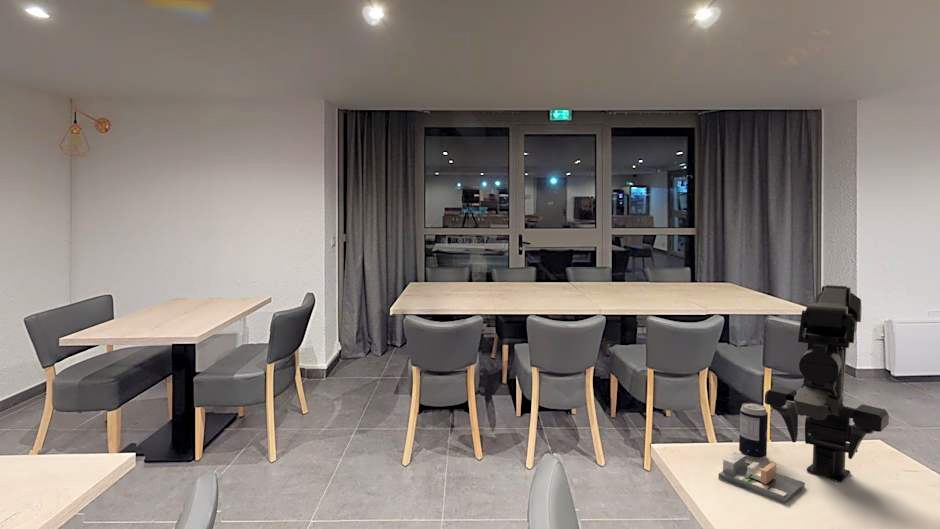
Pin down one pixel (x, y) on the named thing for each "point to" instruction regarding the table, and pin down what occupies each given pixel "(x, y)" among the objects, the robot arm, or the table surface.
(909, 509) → the table surface
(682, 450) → the table surface
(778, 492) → the frame
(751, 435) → the beverage can
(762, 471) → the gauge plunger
